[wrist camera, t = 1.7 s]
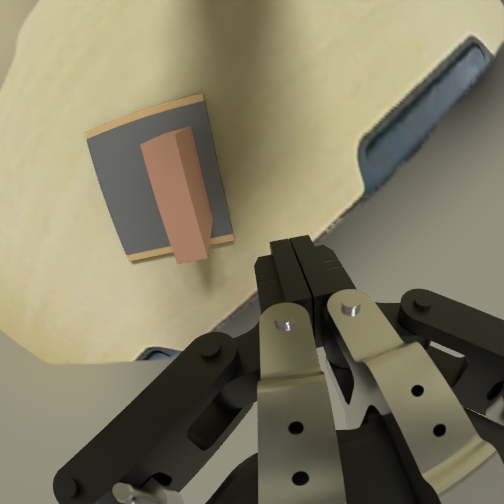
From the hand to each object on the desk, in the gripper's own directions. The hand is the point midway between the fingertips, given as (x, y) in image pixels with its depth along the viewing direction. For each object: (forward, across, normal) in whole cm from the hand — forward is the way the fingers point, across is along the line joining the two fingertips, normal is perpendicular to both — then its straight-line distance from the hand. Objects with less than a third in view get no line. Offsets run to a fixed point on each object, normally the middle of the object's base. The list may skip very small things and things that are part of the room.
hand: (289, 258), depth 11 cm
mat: (+18, +10, 0) cm, 21 cm away
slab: (+18, +6, 0) cm, 19 cm away
